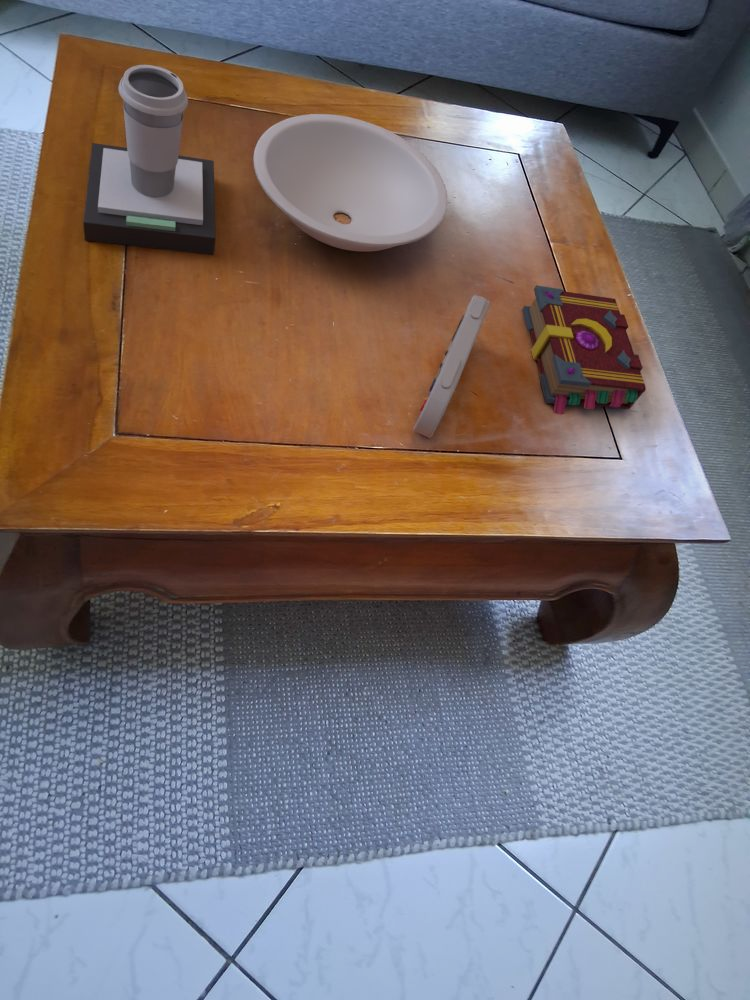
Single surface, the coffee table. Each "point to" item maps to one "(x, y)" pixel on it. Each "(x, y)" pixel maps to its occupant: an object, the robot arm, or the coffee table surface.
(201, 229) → the scale
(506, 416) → the coffee table surface
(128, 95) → the cup
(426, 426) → the game controller
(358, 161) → the white sink basin
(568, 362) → the decorative book
